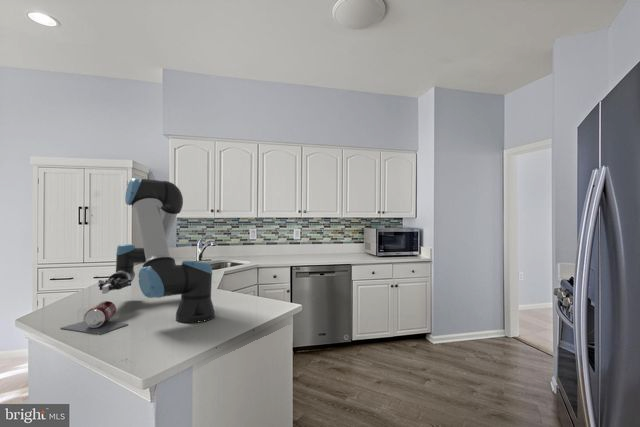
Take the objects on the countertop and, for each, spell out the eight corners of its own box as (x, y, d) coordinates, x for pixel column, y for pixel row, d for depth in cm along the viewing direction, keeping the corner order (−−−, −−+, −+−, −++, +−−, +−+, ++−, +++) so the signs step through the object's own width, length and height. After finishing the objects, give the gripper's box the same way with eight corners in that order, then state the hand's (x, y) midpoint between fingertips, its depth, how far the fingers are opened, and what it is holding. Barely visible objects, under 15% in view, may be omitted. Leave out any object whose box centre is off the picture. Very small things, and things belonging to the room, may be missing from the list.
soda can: (107, 323, 133) (95, 333, 121) (91, 311, 131) (78, 320, 120) (121, 308, 134) (110, 316, 122) (105, 297, 133) (93, 304, 121)
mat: (128, 325, 127) (128, 323, 128) (99, 334, 116) (99, 333, 116) (91, 320, 133) (91, 319, 133) (60, 328, 121) (60, 327, 121)
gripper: (135, 287, 157) (122, 299, 135) (102, 288, 153) (84, 300, 131) (135, 271, 157) (123, 280, 135) (103, 272, 153) (85, 281, 131)
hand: (104, 290), depth 133 cm, fingers closed
